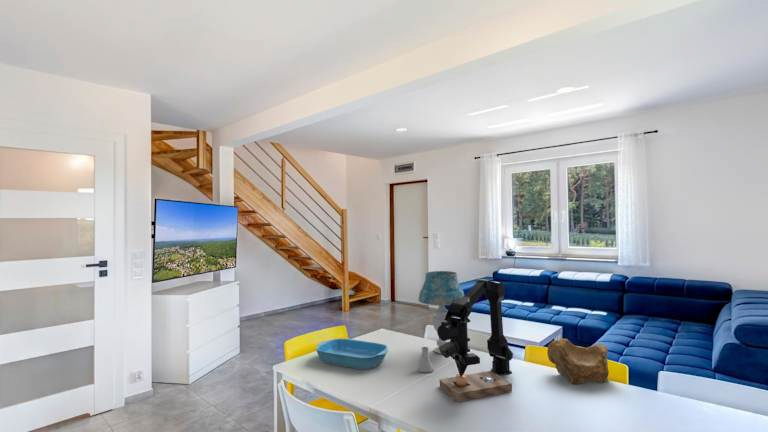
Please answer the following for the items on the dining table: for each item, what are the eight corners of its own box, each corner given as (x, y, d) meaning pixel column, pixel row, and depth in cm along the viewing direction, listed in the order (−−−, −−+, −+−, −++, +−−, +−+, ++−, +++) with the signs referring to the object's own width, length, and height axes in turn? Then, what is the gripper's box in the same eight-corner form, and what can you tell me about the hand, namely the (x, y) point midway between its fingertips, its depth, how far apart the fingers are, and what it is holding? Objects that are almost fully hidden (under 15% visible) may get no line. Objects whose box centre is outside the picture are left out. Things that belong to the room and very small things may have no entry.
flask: (433, 373, 166) (432, 350, 166) (416, 372, 168) (415, 350, 168) (434, 367, 173) (433, 345, 173) (418, 366, 175) (417, 344, 175)
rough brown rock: (549, 386, 152) (550, 350, 151) (546, 368, 168) (546, 335, 167) (616, 395, 145) (617, 357, 144) (606, 375, 160) (607, 340, 159)
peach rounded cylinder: (463, 381, 151) (463, 373, 151) (469, 385, 147) (469, 377, 147) (453, 382, 149) (453, 374, 149) (459, 387, 145) (459, 378, 145)
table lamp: (410, 351, 196) (408, 273, 197) (439, 340, 212) (437, 269, 213) (447, 362, 178) (445, 277, 179) (476, 350, 195) (473, 272, 196)
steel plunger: (489, 383, 154) (489, 375, 154) (496, 387, 150) (496, 379, 150) (480, 384, 153) (480, 376, 153) (486, 389, 149) (486, 380, 149)
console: (491, 377, 160) (490, 370, 160) (512, 391, 147) (511, 383, 147) (439, 386, 153) (439, 379, 153) (456, 401, 139) (456, 393, 139)
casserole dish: (396, 358, 187) (395, 343, 187) (375, 375, 167) (375, 358, 167) (332, 349, 203) (332, 336, 203) (307, 363, 182) (306, 348, 183)
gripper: (431, 331, 155) (432, 369, 154) (453, 344, 137) (454, 388, 137) (455, 328, 158) (456, 366, 158) (480, 340, 141) (481, 383, 140)
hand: (461, 375), depth 148 cm, fingers closed
